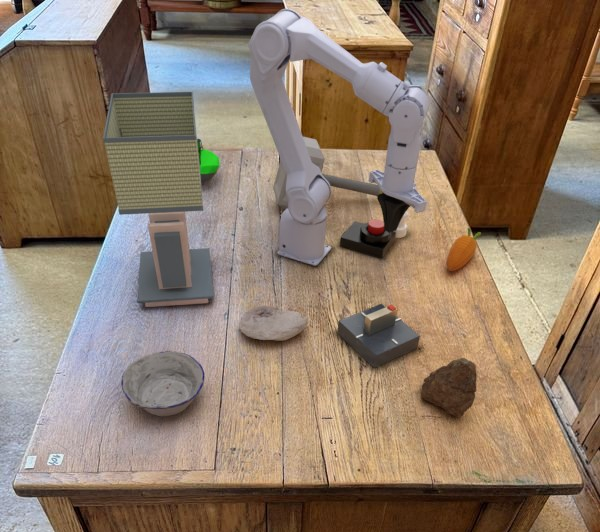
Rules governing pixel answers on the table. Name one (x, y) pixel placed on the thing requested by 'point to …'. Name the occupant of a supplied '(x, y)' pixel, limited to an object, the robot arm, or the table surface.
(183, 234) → the desk lamp
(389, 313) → the silver block
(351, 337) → the panel
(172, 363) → the bowl
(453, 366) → the rock
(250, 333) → the fossil
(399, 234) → the decorative finial
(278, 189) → the hammer
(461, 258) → the carrot
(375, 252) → the button box
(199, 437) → the table surface
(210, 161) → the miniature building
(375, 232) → the red button
